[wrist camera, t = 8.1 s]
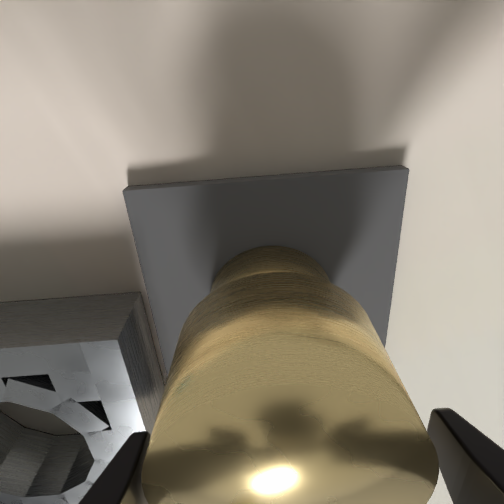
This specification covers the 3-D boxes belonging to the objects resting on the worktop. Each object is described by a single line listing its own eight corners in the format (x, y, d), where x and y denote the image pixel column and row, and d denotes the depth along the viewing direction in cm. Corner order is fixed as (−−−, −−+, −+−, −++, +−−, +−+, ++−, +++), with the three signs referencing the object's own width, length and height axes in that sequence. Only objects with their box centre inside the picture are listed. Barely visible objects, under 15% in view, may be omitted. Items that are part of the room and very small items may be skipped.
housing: (-13, 471, 19) (-54, 534, 16) (-120, 311, 14) (-205, 364, 11) (181, 456, 19) (172, 517, 16) (140, 292, 14) (117, 339, 11)
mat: (174, 385, 17) (172, 395, 16) (127, 186, 12) (122, 190, 12) (376, 369, 17) (380, 379, 16) (401, 165, 12) (409, 168, 12)
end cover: (203, 362, 15) (170, 565, 9) (180, 234, 12) (106, 394, 6) (344, 355, 15) (414, 555, 9) (354, 223, 12) (468, 375, 6)
